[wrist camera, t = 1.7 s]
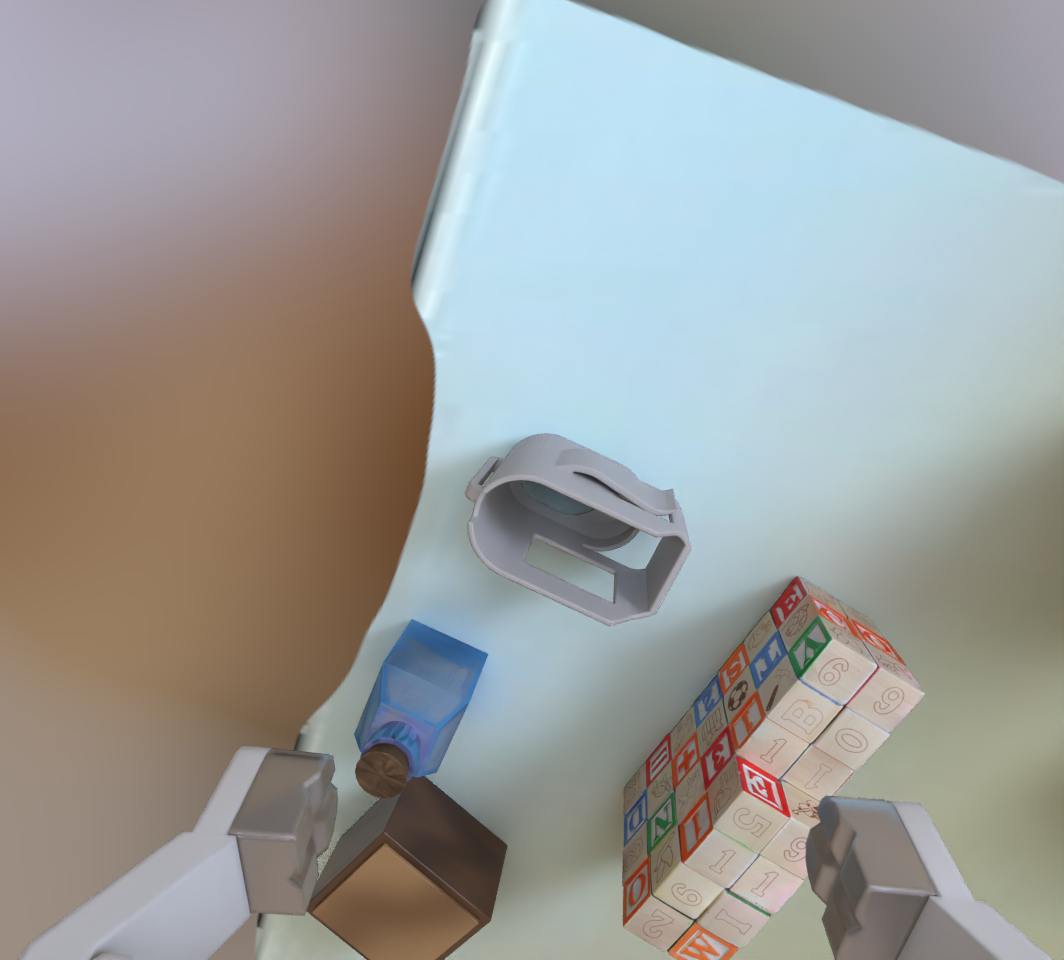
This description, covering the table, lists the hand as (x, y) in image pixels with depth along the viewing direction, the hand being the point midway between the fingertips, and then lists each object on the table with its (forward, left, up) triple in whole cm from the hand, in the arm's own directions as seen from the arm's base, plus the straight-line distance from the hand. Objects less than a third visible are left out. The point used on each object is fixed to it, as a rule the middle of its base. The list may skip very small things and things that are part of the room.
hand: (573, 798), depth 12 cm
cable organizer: (-4, +4, -36) cm, 36 cm away
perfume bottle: (-11, +21, -36) cm, 43 cm away
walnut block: (-24, +30, -36) cm, 52 cm away
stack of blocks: (-23, +2, -36) cm, 42 cm away
